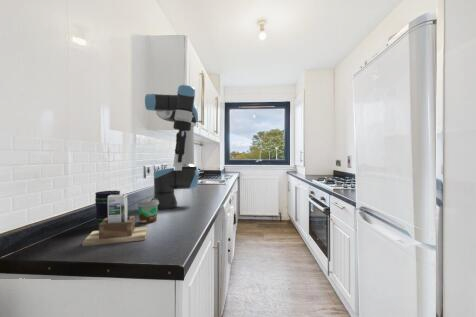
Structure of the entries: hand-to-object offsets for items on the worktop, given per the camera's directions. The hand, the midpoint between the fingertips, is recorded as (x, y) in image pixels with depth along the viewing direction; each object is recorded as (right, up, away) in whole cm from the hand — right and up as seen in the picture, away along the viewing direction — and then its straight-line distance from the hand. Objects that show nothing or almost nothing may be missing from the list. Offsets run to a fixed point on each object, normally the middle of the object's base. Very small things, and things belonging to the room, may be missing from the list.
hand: (177, 168), depth 108 cm
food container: (-13, -25, +6) cm, 29 cm away
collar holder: (-18, -25, -17) cm, 35 cm away
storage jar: (-30, -26, -1) cm, 40 cm away
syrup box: (-18, -24, -16) cm, 34 cm away
